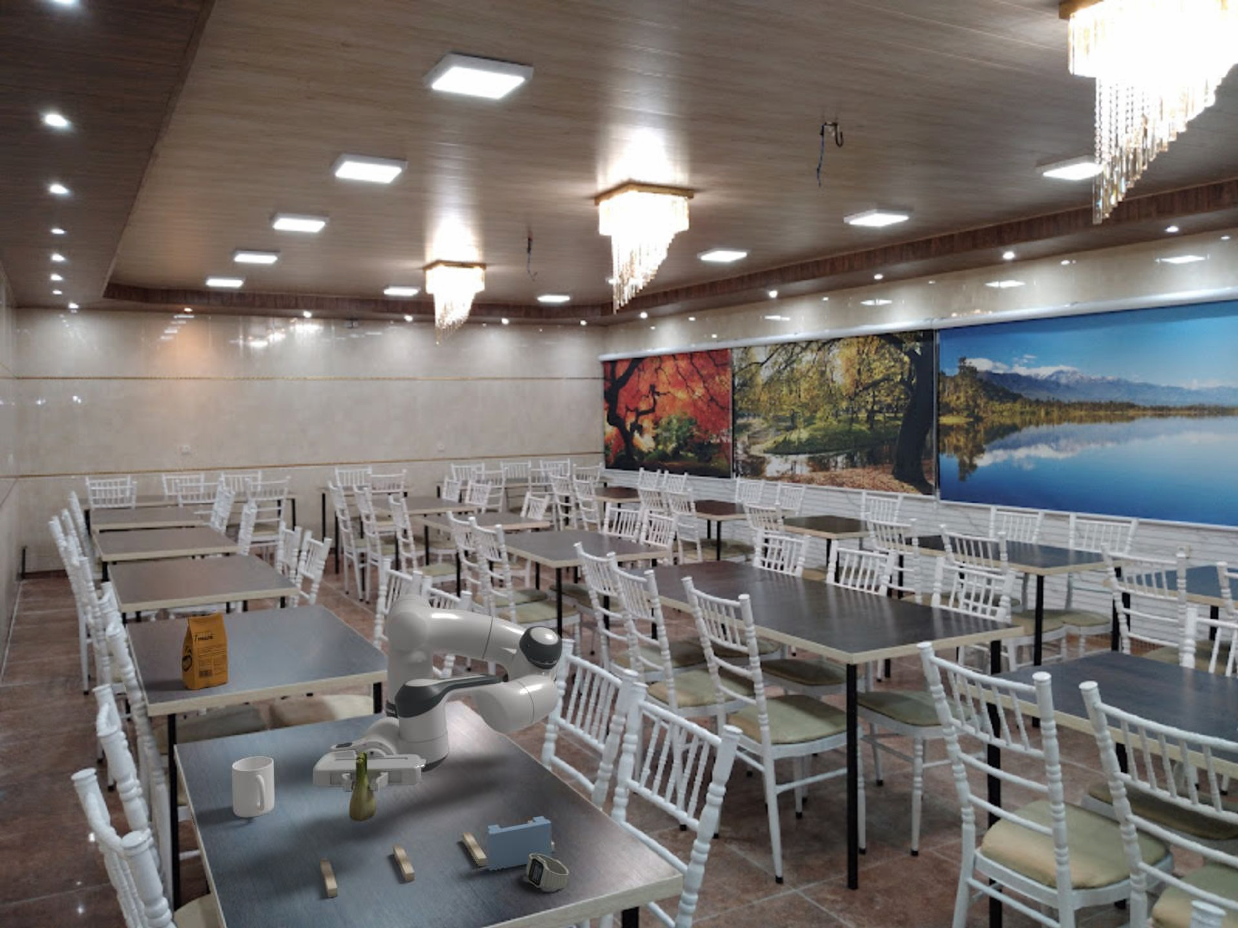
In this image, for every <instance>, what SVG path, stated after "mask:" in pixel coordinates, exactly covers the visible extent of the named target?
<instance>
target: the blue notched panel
mask: <svg viewBox="0 0 1238 928" xmlns="http://www.w3.org/2000/svg"><path fill="white" fill-rule="evenodd" d="M532 820H533V823H528V824H527V823H524V824H518V825H511V826H508V827H502V828H501V827H500V825H499V824H493V825H487V826H486V827H487V828H486V830H487V868H488V870H489V871H490V872H493V871H492V870H495V871H498V870H497V869H499V870H502V869H501V868H504V869H508V867H509V868H513V867H518V866H523V865H527V863H528V859H529V855H530V854H541V855H545V856H548V857H550V858H552V859H553V856H552V855H553V854H552V853H553V852H552V842H553V841H552V822H551V821H550V819H546V818H545V817H544V816H543V815H540V816H536V817H532Z"/></svg>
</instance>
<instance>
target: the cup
mask: <svg viewBox="0 0 1238 928" xmlns="http://www.w3.org/2000/svg"><path fill="white" fill-rule="evenodd" d="M274 763H275V762H274V759H273V758H271V757H269V756H261V755H260V756H250V757H245V758H242V759H239V760H237V761H235V762H233V764H232V765H231V780H232V781H231V782H232V784H231V786H232V788H231V789H232V810H233V813H234V815H236V816H237V817H239V818H240V817H241V818H256V817H261V816H263V815H266V814H268V813H269V812H271V811H272V810H273V808H275V776H274V775H275V774H274V773H275V772H274V770H275V769H274V767H275V766H274Z"/></svg>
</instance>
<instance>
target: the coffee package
mask: <svg viewBox="0 0 1238 928" xmlns="http://www.w3.org/2000/svg"><path fill="white" fill-rule="evenodd" d="M224 622H225V621H224V617H223V613H222V612H221V611H219V612H215V613H213V614H210V615H207V616H187V625H188V626H187V629H186V634H185V636H184V638H183V639H184V640H183V645H182V651H181V654H182V655H181V678H182V679H181V681H182V682H183V686H184V687H186V688H188V690H192V691H197V690H198V691H199V690H201V689H203V688H214V687H218V686H221V685H224V684H227V683H228V682H229V663H228V661H229V660H228V657H229V656H228V639H227V637H228V636H227V630H226V627H225V623H224Z"/></svg>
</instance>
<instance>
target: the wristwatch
mask: <svg viewBox="0 0 1238 928" xmlns="http://www.w3.org/2000/svg"><path fill="white" fill-rule="evenodd" d="M525 872H526V875H527V878H528V880H529V883H530V884H531V885H534V886H535V887H536V888H537V889H539V888H541V887H545V888H548V889H551V890H552V889H553V890H560V889H561V890H562V889H563V888H565V887H566V886H567V881H568V879H569V878H568V877H569V874H570V871H569V869H568V868H567V867H566V866H565V865H564V864H563V863H562V862H561V861H560V860H558V859H554V858H553V857H552V858H550V857H548V856H545V855H541V854H530V855H529V859H528V863H527V864H526V868H525Z"/></svg>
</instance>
